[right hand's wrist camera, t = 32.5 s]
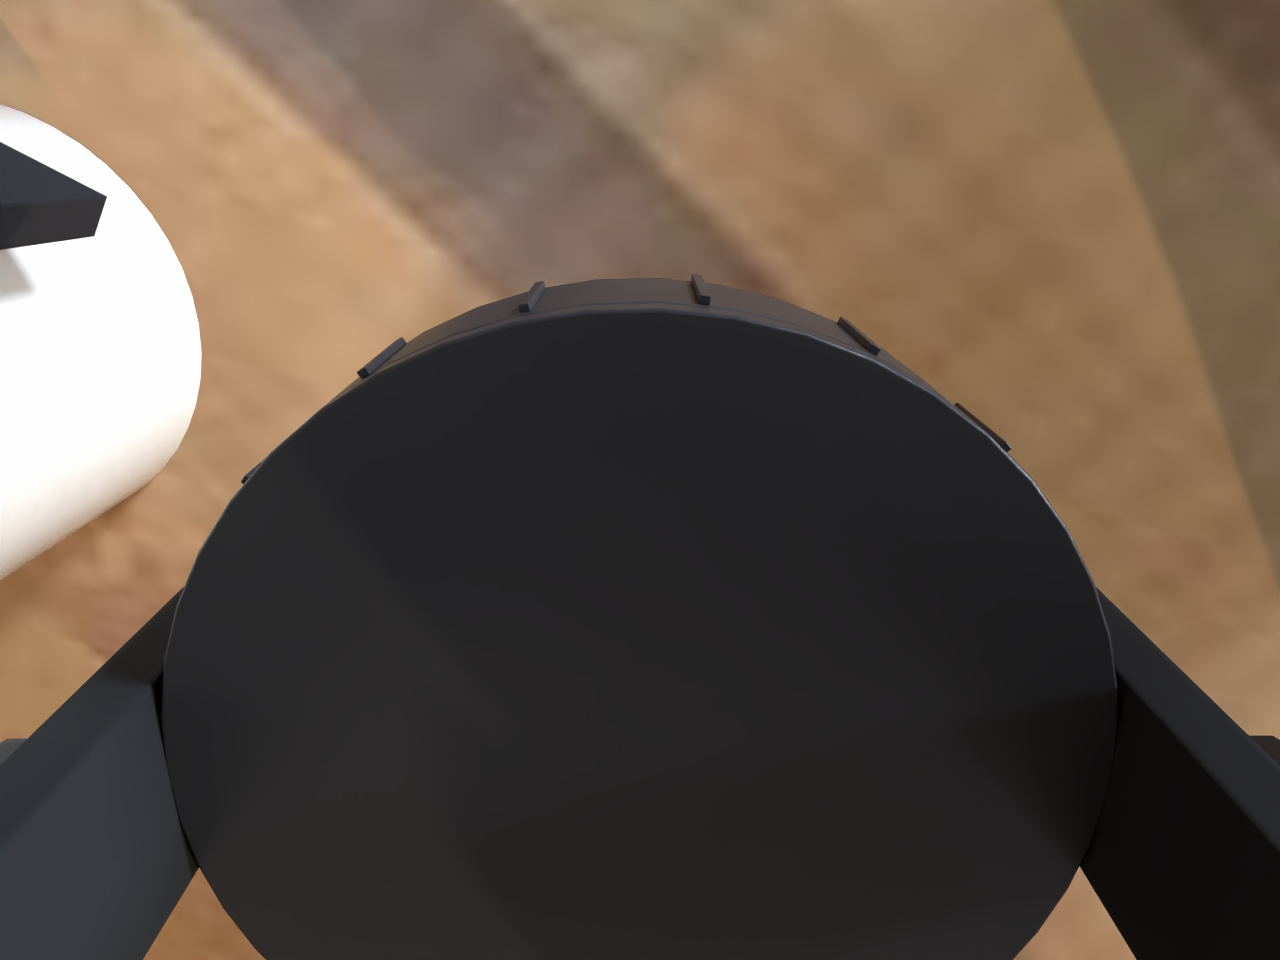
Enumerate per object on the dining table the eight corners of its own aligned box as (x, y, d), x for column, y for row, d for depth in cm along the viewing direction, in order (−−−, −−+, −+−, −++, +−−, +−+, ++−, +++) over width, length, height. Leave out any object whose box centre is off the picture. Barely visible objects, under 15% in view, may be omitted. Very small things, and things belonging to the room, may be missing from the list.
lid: (277, 967, 14) (216, 1105, 12) (181, 253, 10) (70, 279, 8) (969, 985, 14) (1022, 1124, 12) (1121, 287, 11) (1234, 322, 9)
